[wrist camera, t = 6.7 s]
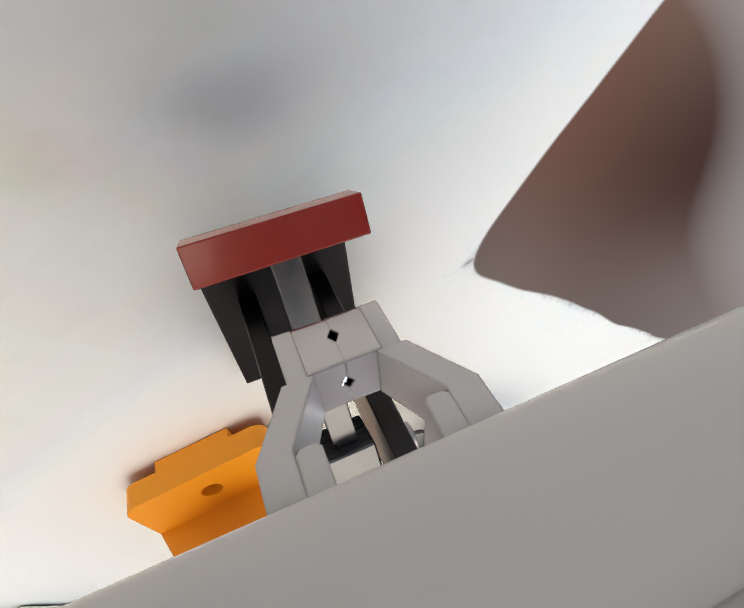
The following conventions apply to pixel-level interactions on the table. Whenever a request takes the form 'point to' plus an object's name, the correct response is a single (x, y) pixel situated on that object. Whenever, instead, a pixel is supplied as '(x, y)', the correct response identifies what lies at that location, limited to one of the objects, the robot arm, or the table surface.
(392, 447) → the bracket
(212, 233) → the lever
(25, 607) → the small box
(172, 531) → the bracket
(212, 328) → the table surface
